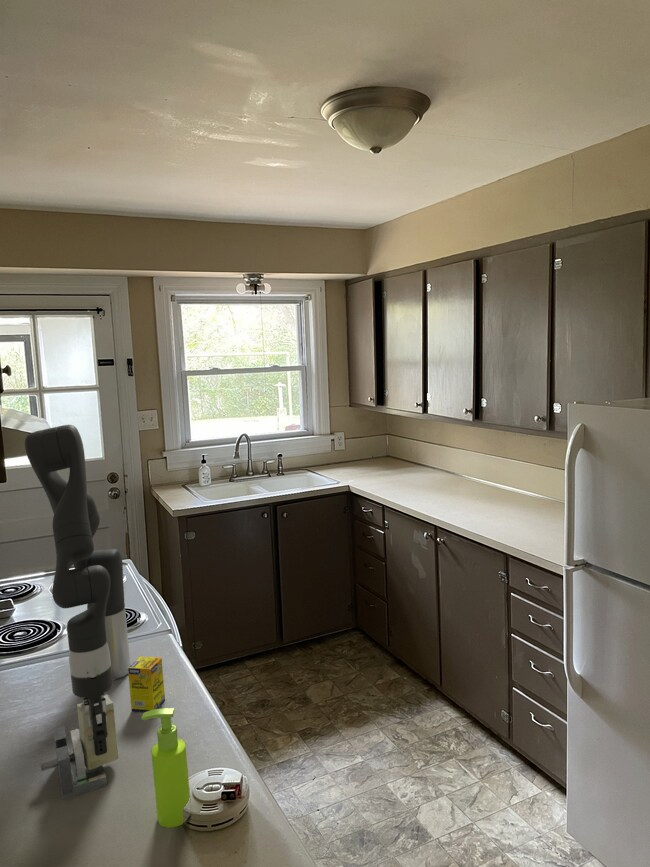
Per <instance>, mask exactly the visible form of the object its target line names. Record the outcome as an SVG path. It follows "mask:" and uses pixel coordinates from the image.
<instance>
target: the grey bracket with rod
mask: <svg viewBox="0 0 650 867" xmlns="http://www.w3.org/2000/svg"><path fill="white" fill-rule="evenodd" d="M65 728H66V727H65V726H60V727H56V728H53V734H54V744H55V752H56V759H57V758H58V766H57V769H58V777H59V784H60V791H61V800H66V799H69V798H72V797H76V796H79V795H81V794H85V793H87V792H91V791H93V790H97V789H99V788H103V787H105V786H107V785H108V782H107V781H108V780H107V775H106V774H107V773H105V770H104V765H101V766H99V767H96V768H94V769H91V770H88V769H87V768H86V766H85V773H86V780H84V781H81V782H78V781H77V775H76V770H75V765H74V761H73V762H70V756H69V755H70V754H73V750H71V752H69V746H68V741H67V733H66V729H65Z"/></svg>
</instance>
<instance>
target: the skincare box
mask: <svg viewBox="0 0 650 867" xmlns="http://www.w3.org/2000/svg"><path fill="white" fill-rule="evenodd" d="M104 698H105V699H106V716H107V722H106V726H107V733H108V735H107V737H106V745H107V752H106V753H105V754H102V755H99V756H96V754H95V748H94V739H93V738H92V735H93V734H92V728H91V727H89V724H88V715H89V714H90V716H91V712H90V711H85V705H84V703H83V702H80V703H77V704H76V709H77V716H78V717H77V718H78V730H79V735H80V740H81V744H82V749H83V754H84V763H85V766H86V768H87V769H88V770H91V769H94V768H96V767H99V766H101V765H103V766H104V765H107V764H108V763H111V762H113V761H116V760H118V759H119V751H118V750H119V749H118V740H117V730H116V729H117V728H116V719H115V707H114V702H113V700H112V698H111V697H110V695H109V694H107V693H106V694H104ZM91 721H92V720H91Z"/></svg>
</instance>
